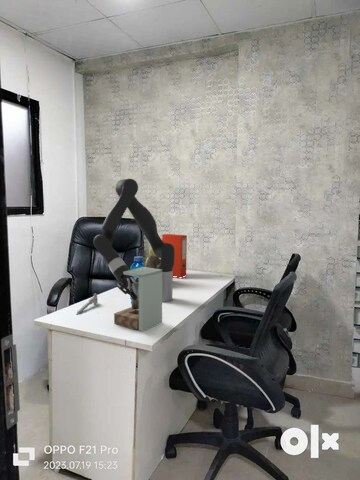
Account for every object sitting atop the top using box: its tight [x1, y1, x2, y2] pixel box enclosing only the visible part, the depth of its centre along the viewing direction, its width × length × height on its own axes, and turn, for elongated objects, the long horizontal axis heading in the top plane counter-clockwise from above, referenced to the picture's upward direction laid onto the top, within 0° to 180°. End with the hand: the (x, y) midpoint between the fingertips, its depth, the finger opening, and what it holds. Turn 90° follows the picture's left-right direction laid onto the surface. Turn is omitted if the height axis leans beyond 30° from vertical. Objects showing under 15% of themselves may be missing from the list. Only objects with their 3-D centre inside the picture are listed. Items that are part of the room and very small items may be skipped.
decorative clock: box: [144, 246, 161, 269], centre depth 235 cm, size 28×13×30 cm, turn 159°
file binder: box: [161, 233, 188, 277], centre depth 258 cm, size 8×17×32 cm, turn 57°
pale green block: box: [123, 266, 163, 333], centre depth 155 cm, size 11×14×25 cm
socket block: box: [113, 306, 139, 331], centre depth 158 cm, size 14×14×5 cm
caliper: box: [75, 293, 98, 316], centre depth 178 cm, size 20×1×6 cm, turn 166°
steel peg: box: [131, 282, 139, 309], centre depth 157 cm, size 4×4×12 cm
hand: (138, 298), depth 156 cm, fingers closed on steel peg, 3 cm apart
